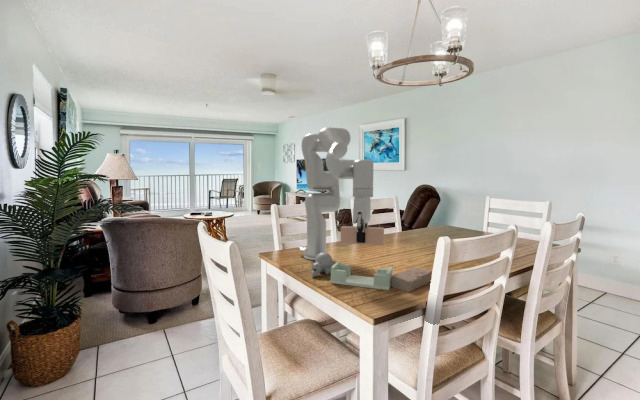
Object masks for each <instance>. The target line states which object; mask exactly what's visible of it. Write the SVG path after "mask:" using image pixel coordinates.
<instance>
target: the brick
mask: <svg viewBox="0 0 640 400" xmlns="http://www.w3.org/2000/svg"><path fill="white" fill-rule="evenodd" d="M431 275H432V276H433V272H432V270H430V269H425V268H419V267H413V266H412V267H409V268H408V269H406V270H403V271H401V272H396V273H395V274H392V278H391V286H390V288H391V287H392V288H394V289H397V290H401V291H403V292H408V293H410V292H412V291H414V290H417V289H418V288H420V287H423V286H425V285H427V284H428V283H430V282H431V281H432V276H431ZM430 280H431V281H430Z"/></svg>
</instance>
